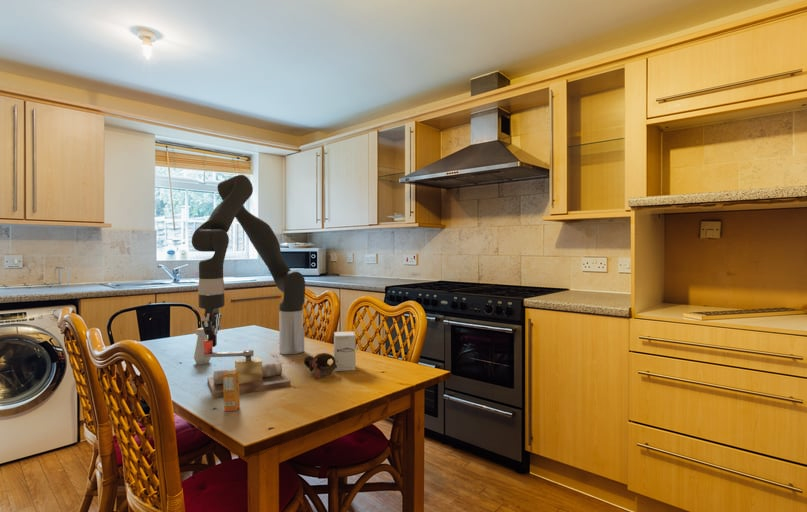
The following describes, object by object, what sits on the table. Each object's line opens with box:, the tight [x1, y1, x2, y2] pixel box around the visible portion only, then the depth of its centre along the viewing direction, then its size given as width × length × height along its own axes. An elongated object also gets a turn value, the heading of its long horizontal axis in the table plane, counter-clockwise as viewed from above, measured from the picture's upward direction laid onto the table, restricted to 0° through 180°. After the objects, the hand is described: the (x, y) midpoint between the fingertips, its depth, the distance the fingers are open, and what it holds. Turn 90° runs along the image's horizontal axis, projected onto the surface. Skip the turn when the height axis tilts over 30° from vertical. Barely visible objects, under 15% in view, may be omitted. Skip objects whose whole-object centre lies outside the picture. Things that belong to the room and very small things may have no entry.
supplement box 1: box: [223, 371, 241, 412], centre depth 113 cm, size 3×4×10 cm
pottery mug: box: [303, 352, 337, 380], centre depth 144 cm, size 12×10×8 cm
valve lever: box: [203, 340, 255, 358], centre depth 133 cm, size 15×3×5 cm, turn 100°
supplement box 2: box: [333, 331, 357, 372], centre depth 152 cm, size 7×7×13 cm
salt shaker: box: [193, 327, 212, 365], centre depth 157 cm, size 6×6×13 cm
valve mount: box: [206, 356, 291, 399], centre depth 134 cm, size 22×16×9 cm
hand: (212, 346), depth 135 cm, fingers closed
